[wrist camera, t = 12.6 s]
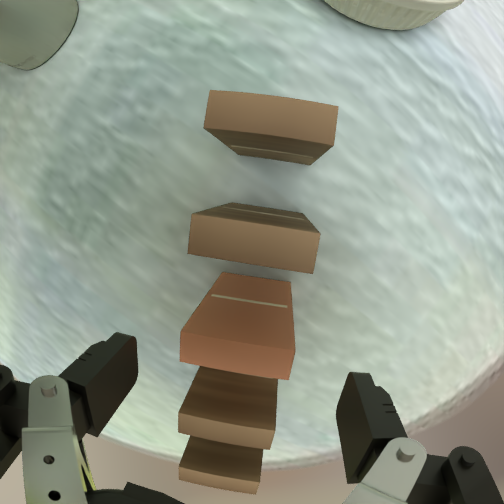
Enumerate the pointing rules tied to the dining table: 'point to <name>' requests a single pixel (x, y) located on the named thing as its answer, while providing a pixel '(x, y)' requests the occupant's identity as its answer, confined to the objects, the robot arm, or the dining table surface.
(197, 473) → the domino
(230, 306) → the domino
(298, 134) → the domino
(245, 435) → the domino
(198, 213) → the domino
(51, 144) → the dining table surface
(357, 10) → the ramekin
